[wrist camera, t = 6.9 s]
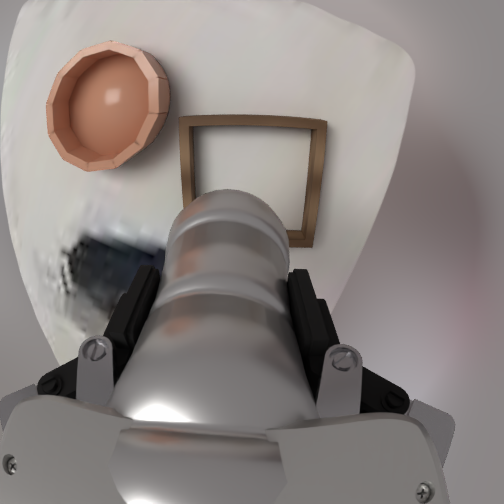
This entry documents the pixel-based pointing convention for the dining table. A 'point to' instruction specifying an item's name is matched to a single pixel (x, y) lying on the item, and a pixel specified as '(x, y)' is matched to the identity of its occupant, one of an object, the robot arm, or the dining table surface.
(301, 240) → the brown picture frame
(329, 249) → the dining table surface
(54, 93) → the terracotta bowl
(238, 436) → the grey metal bulbous cylinder
